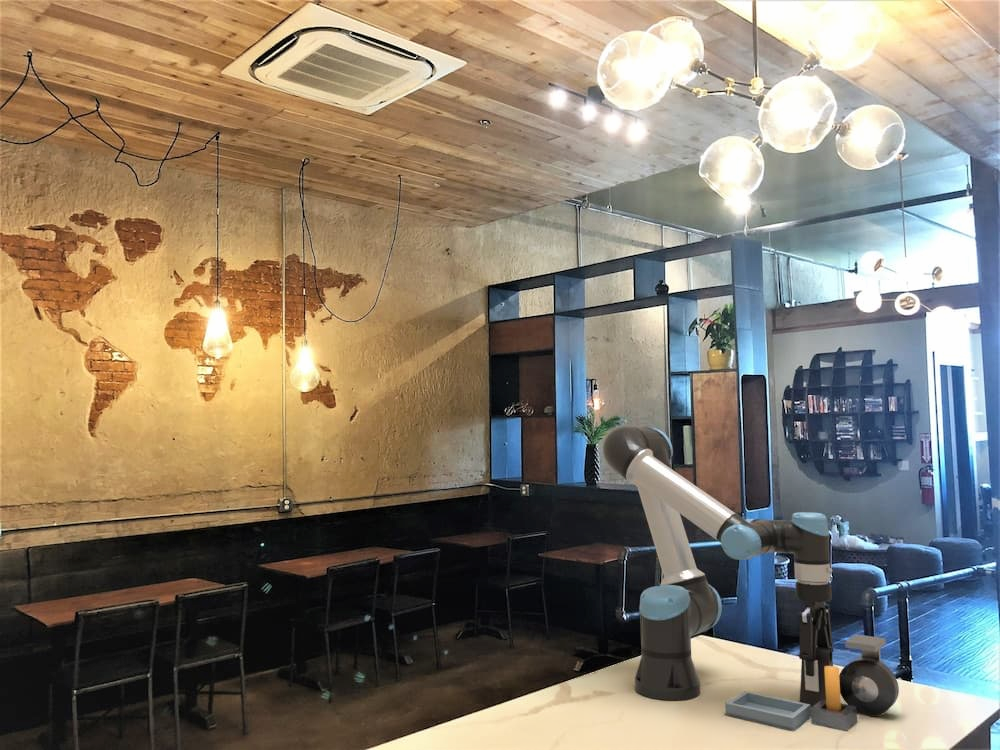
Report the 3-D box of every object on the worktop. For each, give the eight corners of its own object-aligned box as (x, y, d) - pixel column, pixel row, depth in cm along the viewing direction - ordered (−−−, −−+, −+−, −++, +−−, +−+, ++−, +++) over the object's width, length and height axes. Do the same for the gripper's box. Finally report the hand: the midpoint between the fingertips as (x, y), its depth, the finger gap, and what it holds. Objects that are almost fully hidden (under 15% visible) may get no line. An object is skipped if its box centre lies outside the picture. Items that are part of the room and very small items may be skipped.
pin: (825, 722, 157) (822, 668, 158) (829, 718, 159) (826, 665, 160) (839, 725, 155) (836, 670, 156) (843, 721, 157) (840, 667, 158)
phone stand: (828, 711, 164) (825, 654, 165) (799, 705, 167) (796, 649, 168) (838, 699, 171) (835, 645, 172) (811, 694, 174) (808, 641, 175)
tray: (725, 715, 162) (725, 703, 162) (745, 702, 169) (745, 691, 170) (793, 731, 152) (792, 718, 152) (811, 716, 160) (810, 704, 160)
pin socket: (811, 723, 156) (810, 708, 157) (822, 713, 162) (821, 699, 162) (847, 731, 152) (846, 715, 152) (857, 721, 157) (856, 706, 157)
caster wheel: (836, 712, 163) (833, 639, 164) (848, 702, 169) (844, 632, 170) (892, 723, 155) (888, 647, 157) (902, 713, 162) (898, 640, 163)
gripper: (814, 590, 161) (820, 701, 159) (844, 577, 177) (849, 678, 174) (779, 586, 166) (785, 693, 164) (811, 574, 181) (816, 672, 179)
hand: (818, 685), depth 169 cm, fingers open, 7 cm apart
